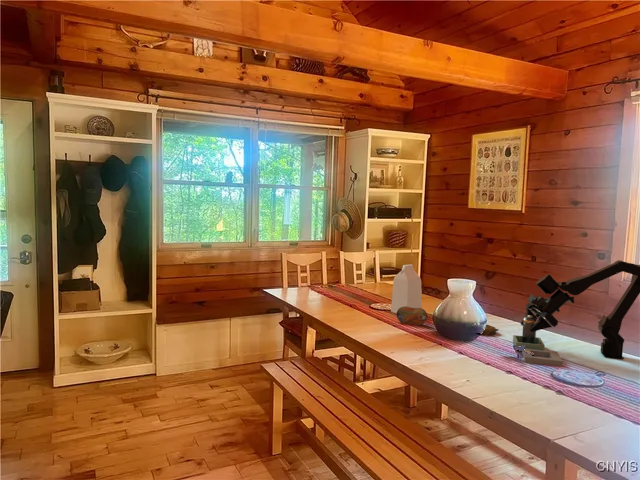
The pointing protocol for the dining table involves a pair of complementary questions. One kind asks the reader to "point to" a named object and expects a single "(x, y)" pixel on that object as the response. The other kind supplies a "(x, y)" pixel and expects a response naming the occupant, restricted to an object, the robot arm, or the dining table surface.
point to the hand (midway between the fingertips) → (525, 327)
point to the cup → (538, 343)
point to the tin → (412, 315)
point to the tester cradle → (552, 360)
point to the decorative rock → (489, 330)
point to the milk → (406, 289)
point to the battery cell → (528, 329)
